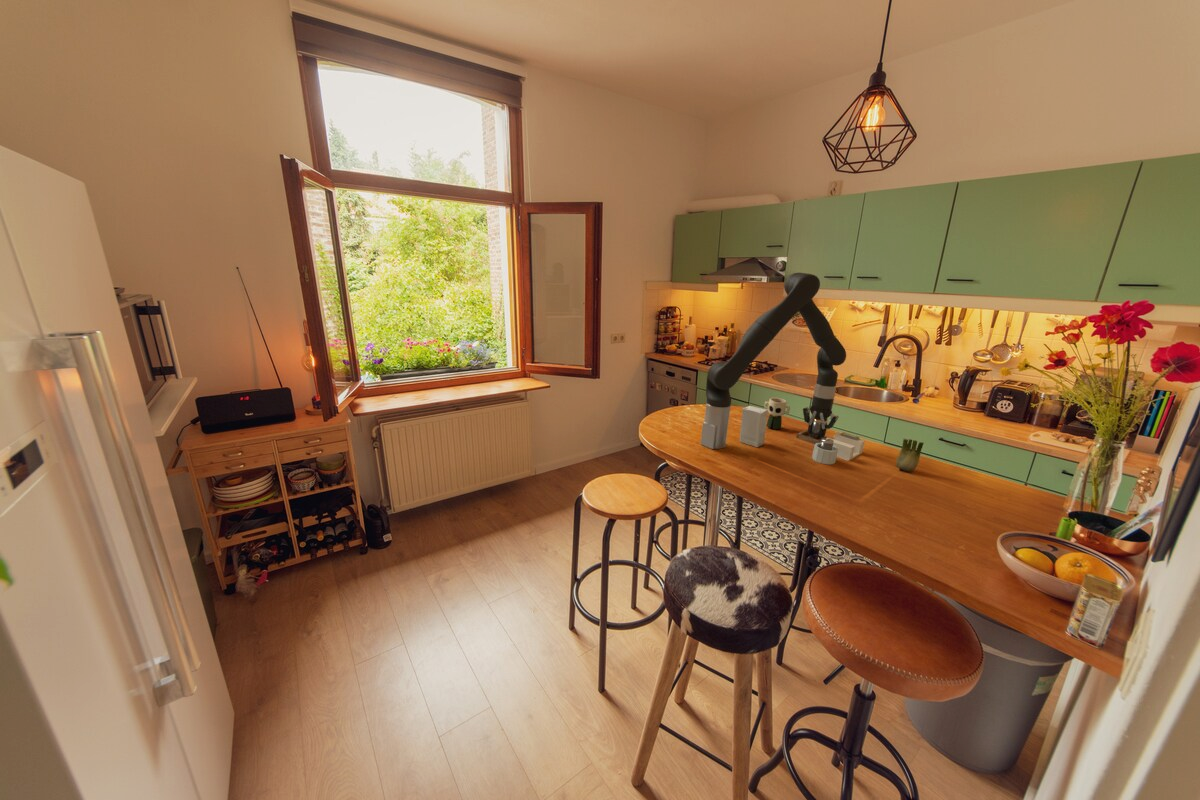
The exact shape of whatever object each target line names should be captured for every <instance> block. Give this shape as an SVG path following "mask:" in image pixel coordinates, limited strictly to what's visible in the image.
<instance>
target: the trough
mask: <svg viewBox="0 0 1200 800" xmlns="http://www.w3.org/2000/svg"><path fill="white" fill-rule="evenodd" d="M810 435H811V434H809V432H808V429H805V430H803V431H800V432H798V433H797V434H796V439H799V440H802V441H805V442H808V443H810V444H814V445H815V444H816V443H821V440H822V438H831V439H833V438H832V437H829V436H826V435H825V436H823V437H821V439H813V438H811V437H810Z"/></svg>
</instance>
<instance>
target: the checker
mask: <svg viewBox="0 0 1200 800" xmlns="http://www.w3.org/2000/svg"><path fill="white" fill-rule="evenodd" d="M831 438H832V437H829V439H831ZM832 440H833V441H834V443H833V445H834V446H835V447H837V448H838V452H837V457H836V458H838V459H841V460H845V461H847V462H848V461H851V460H852V459H855V458H857V457H858V456H859V455H861V454H862V453H863V450H864V445H865V440H864V439H860V436H857V435H853V434H850V433H848V432H844V431H842V432H836V433H834V435H833V438H832Z"/></svg>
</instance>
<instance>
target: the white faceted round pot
mask: <svg viewBox="0 0 1200 800" xmlns="http://www.w3.org/2000/svg"><path fill="white" fill-rule="evenodd" d="M820 444H821V443H816V444H814V446H813V447H814V448H813V451H812V455H811V456H812V457H811V458H812V460H813V461H815V462H816V463H820V464H823V465H834V464H835V463H836V460H837V458H838V457H837V452H838V448H837V447H835V446H834V445H833V447H832V450H830V451H829V450H824V449H821V448H820Z"/></svg>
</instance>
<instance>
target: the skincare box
mask: <svg viewBox="0 0 1200 800" xmlns="http://www.w3.org/2000/svg"><path fill="white" fill-rule="evenodd" d="M767 421H768V409H765V408H762V407H757V406H753V405H748V406H746V407H743V408H742V414H741V423H740V432H739V433H740V434H739V443H743V444H745V445H749V446H751V447H755V448H759V447H761V446H763V445H764V444H765V439H766V431H767V430H766V429H767V426H766V425H767Z"/></svg>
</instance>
